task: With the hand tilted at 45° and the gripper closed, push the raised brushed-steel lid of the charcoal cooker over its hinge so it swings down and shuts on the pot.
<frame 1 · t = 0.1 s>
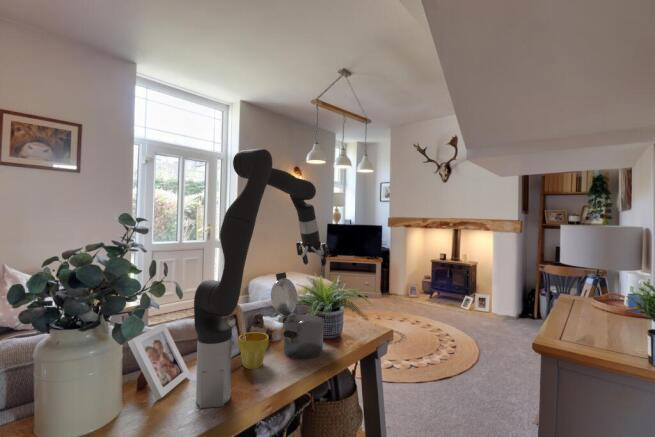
hand: (315, 264, 147), 31 cm above the table, tool tilted 20°, fingers open, 8 cm apart
cooker lid: (283, 294, 139), point 21 cm above the table, hinge at 104.0°
cooker pot: (303, 351, 133), on the table
plant pot: (253, 365, 120), on the table
figurine: (257, 343, 141), on the table
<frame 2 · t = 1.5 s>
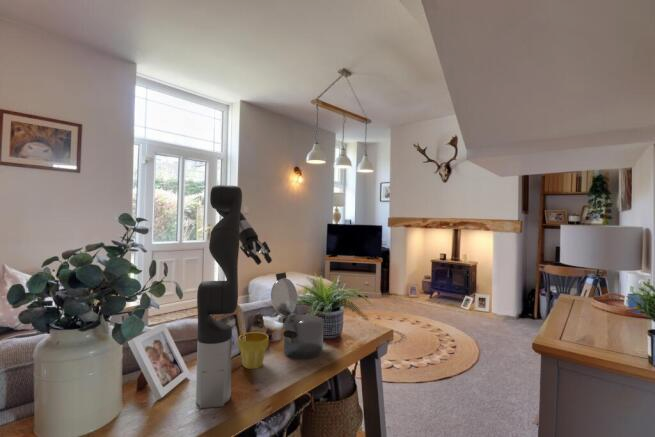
hand: (265, 262, 144), 32 cm above the table, tool tilted 45°, fingers open, 5 cm apart
nothing on the table moved.
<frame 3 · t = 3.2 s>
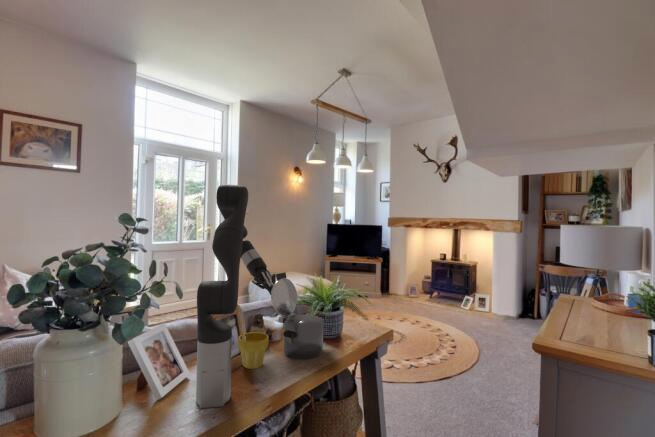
hand: (275, 295, 141), 20 cm above the table, tool tilted 45°, fingers closed
nothing on the table moved.
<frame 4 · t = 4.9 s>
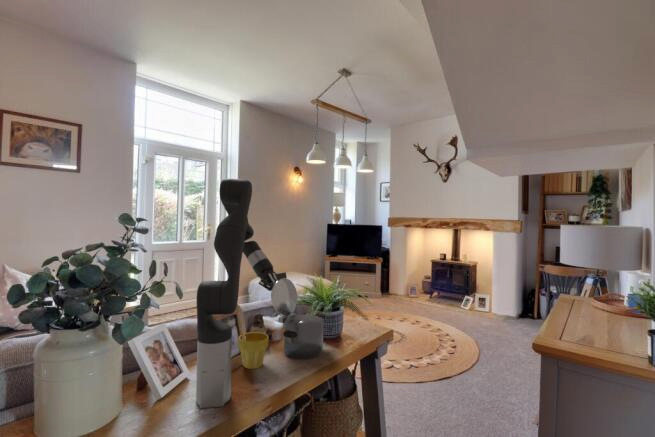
hand: (281, 297, 139), 19 cm above the table, tool tilted 45°, fingers closed
cooker lid: (283, 294, 139), point 21 cm above the table, hinge at 103.6°, touching gripper
everything else where it was.
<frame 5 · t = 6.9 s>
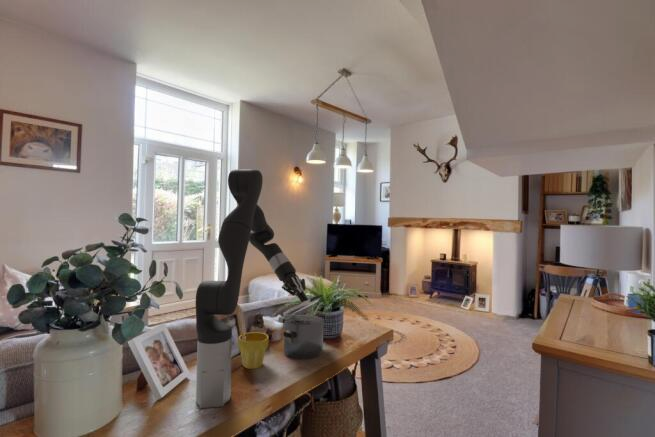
hand: (305, 301, 133), 19 cm above the table, tool tilted 45°, fingers closed
cooker lid: (302, 304, 133), point 18 cm above the table, hinge at 31.8°
everything else where it was.
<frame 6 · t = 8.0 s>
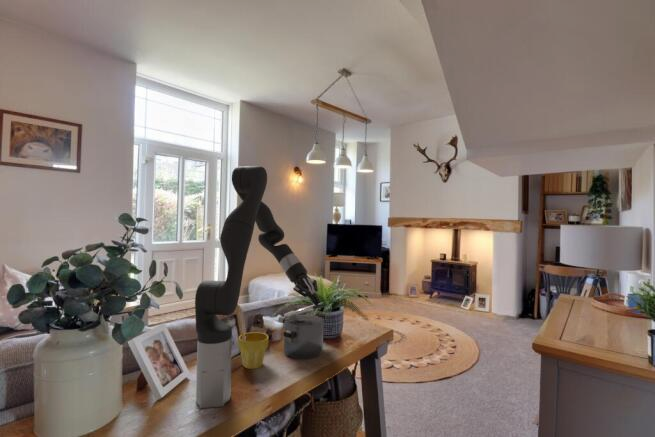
hand: (318, 303, 129), 19 cm above the table, tool tilted 45°, fingers closed
cooker lid: (304, 308, 133), point 17 cm above the table, hinge at 20.8°
everything else where it was.
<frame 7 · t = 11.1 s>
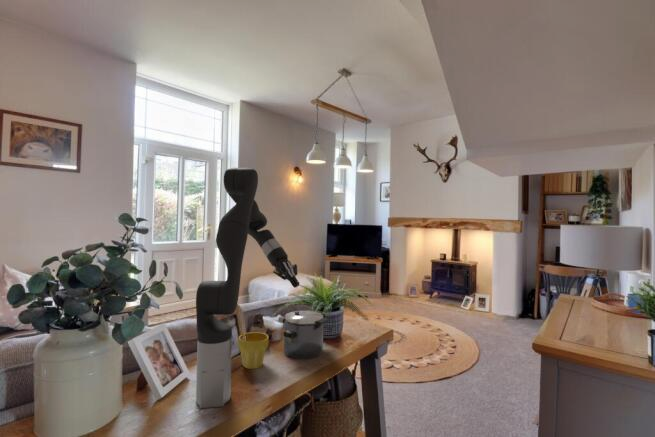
hand: (297, 286, 135), 25 cm above the table, tool tilted 45°, fingers closed
cooker lid: (306, 316, 132), point 14 cm above the table, hinge at -0.1°
everything else where it was.
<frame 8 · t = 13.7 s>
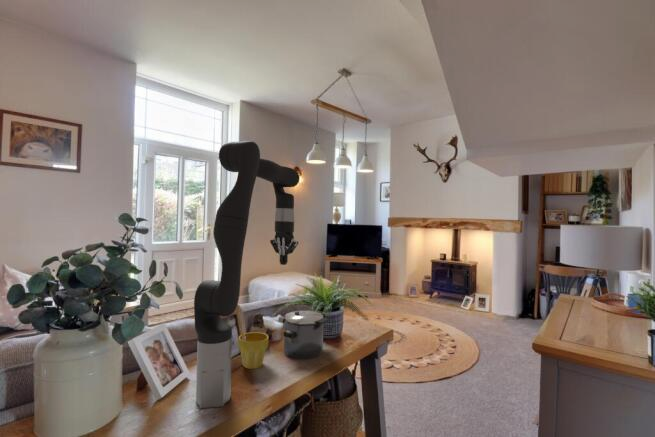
hand: (283, 264, 135), 33 cm above the table, tool pointing down, fingers closed
nothing on the table moved.
at the end: cooker lid at +0° (first picture: +104°) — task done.
